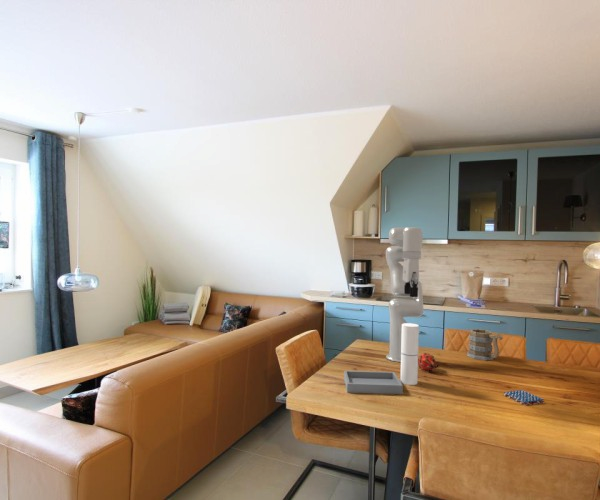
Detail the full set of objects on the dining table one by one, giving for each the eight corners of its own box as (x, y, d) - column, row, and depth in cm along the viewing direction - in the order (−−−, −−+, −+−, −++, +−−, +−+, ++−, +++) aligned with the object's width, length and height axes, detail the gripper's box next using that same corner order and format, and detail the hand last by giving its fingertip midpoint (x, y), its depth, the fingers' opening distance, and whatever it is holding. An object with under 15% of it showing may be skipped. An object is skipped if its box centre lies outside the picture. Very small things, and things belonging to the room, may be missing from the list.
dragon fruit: (423, 368, 190) (432, 380, 179) (410, 359, 189) (419, 370, 177) (434, 355, 190) (444, 367, 178) (421, 346, 188) (431, 356, 177)
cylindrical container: (398, 383, 165) (400, 325, 165) (402, 378, 172) (403, 322, 171) (415, 386, 162) (417, 327, 162) (418, 381, 168) (420, 324, 168)
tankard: (462, 354, 211) (463, 327, 211) (481, 352, 215) (481, 326, 215) (490, 365, 192) (491, 335, 192) (510, 363, 196) (511, 334, 196)
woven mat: (524, 407, 144) (524, 402, 144) (502, 396, 154) (502, 391, 154) (546, 404, 147) (546, 399, 147) (522, 394, 157) (523, 389, 157)
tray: (344, 378, 170) (344, 370, 170) (394, 379, 169) (394, 372, 169) (347, 392, 154) (347, 383, 154) (402, 394, 153) (402, 385, 153)
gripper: (398, 255, 175) (397, 292, 175) (407, 256, 157) (406, 297, 158) (415, 255, 174) (414, 293, 175) (426, 256, 157) (425, 298, 157)
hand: (410, 295), depth 166 cm, fingers open, 9 cm apart
